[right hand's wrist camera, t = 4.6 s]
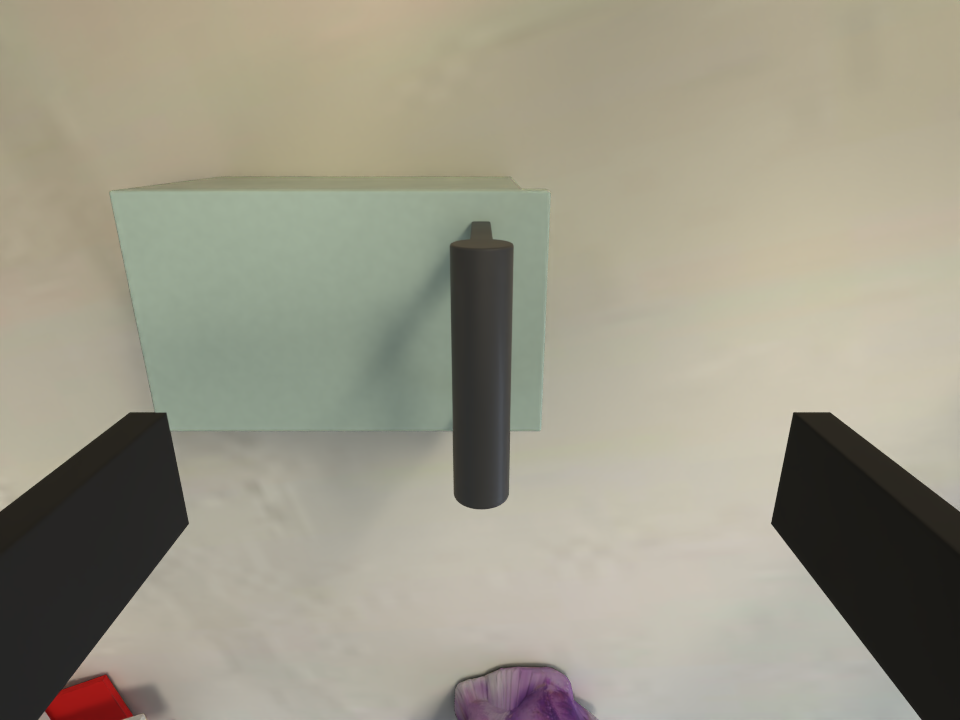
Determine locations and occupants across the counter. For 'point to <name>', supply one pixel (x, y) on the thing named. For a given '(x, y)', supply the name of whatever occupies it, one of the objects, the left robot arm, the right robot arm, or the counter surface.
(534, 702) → the figurine
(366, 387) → the lid
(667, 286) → the counter surface
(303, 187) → the chest
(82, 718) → the toy
